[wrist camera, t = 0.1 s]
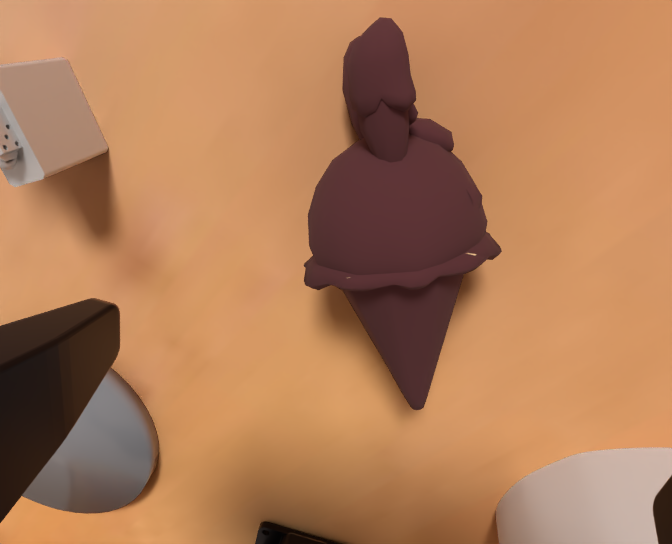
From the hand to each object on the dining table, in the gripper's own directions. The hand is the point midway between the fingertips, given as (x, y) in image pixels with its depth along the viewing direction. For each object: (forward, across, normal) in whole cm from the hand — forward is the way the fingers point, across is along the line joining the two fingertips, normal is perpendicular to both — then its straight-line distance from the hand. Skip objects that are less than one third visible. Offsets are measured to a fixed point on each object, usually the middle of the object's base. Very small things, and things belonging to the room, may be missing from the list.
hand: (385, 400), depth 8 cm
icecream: (+15, 0, +2) cm, 15 cm away
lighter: (+15, +16, 0) cm, 22 cm away
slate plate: (+15, +18, +22) cm, 32 cm away
